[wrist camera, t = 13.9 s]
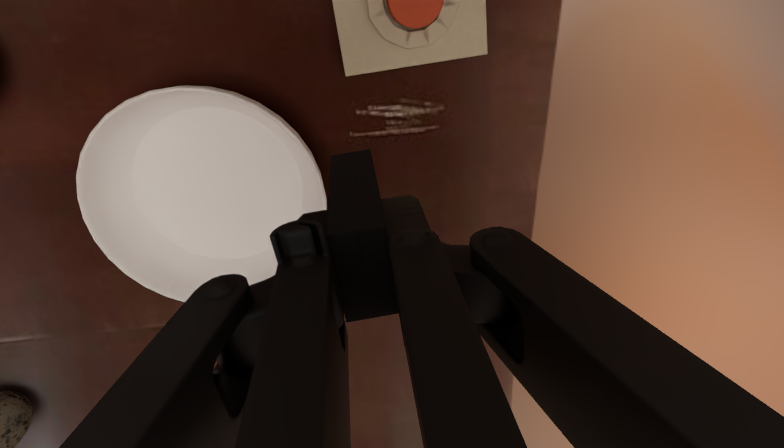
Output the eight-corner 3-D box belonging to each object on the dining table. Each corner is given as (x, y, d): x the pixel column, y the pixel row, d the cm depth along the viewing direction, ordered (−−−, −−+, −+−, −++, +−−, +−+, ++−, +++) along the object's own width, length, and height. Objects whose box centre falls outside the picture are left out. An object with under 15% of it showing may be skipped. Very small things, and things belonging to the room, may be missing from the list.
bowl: (365, 144, 42) (369, 165, 36) (276, 297, 48) (268, 335, 43) (153, 27, 36) (119, 31, 30) (84, 220, 42) (46, 253, 37)
